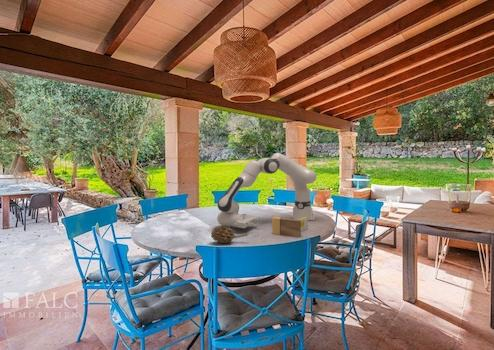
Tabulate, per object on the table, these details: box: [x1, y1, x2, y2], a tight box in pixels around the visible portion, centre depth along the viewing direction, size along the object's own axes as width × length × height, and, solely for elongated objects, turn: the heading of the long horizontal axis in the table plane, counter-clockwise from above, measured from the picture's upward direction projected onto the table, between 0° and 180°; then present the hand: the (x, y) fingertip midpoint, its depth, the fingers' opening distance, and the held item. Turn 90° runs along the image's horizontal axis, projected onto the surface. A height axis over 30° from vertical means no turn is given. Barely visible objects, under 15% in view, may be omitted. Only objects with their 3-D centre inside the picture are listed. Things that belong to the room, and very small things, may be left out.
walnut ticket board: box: [280, 217, 302, 238], centre depth 175 cm, size 4×12×10 cm, turn 63°
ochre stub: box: [271, 216, 283, 236], centre depth 179 cm, size 3×5×10 cm, turn 63°
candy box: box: [299, 217, 309, 233], centre depth 184 cm, size 16×2×8 cm, turn 141°
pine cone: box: [210, 225, 250, 244], centre depth 162 cm, size 22×10×10 cm, turn 96°
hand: (257, 223), depth 185 cm, fingers open, 8 cm apart
